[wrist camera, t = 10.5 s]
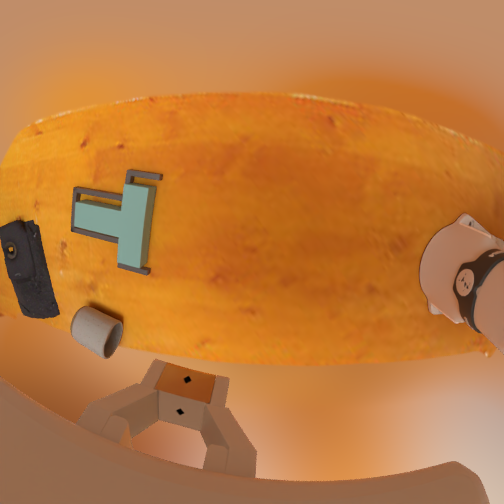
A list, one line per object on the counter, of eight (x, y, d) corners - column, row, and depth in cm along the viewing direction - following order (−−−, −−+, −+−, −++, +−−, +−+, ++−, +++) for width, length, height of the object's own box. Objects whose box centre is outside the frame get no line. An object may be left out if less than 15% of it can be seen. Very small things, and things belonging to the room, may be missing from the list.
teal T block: (156, 186, 39) (148, 188, 36) (147, 262, 42) (139, 268, 39) (88, 175, 39) (78, 176, 36) (83, 244, 42) (73, 249, 39)
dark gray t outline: (162, 174, 38) (159, 174, 37) (150, 272, 43) (147, 275, 41) (80, 163, 38) (76, 163, 37) (74, 251, 42) (70, 253, 41)
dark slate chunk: (25, 313, 49) (13, 321, 44) (2, 223, 42) (-13, 228, 38) (64, 317, 47) (52, 328, 43) (39, 214, 41) (23, 219, 37)
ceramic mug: (88, 297, 45) (65, 316, 38) (124, 313, 45) (104, 336, 38) (88, 338, 48) (69, 359, 41) (121, 355, 48) (104, 378, 41)
